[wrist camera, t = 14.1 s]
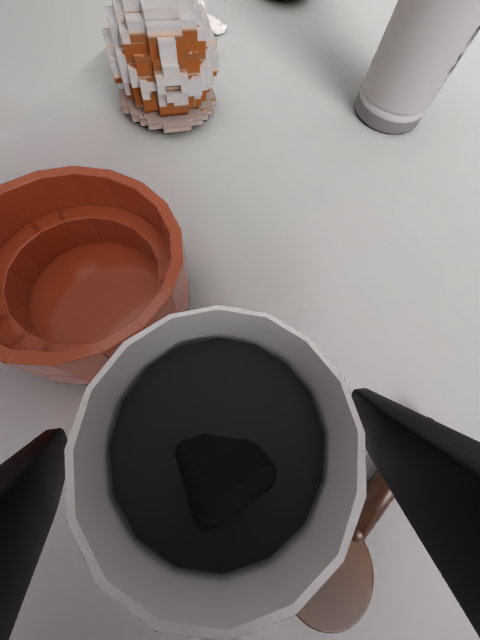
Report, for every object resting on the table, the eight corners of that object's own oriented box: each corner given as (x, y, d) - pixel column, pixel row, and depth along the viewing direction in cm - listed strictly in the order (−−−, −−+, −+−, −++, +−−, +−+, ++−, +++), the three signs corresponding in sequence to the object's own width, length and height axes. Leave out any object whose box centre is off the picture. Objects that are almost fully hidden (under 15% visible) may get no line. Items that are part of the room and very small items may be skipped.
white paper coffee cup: (298, 470, 15) (428, 520, 6) (180, 538, 14) (118, 741, 5) (244, 359, 17) (281, 271, 8) (136, 407, 16) (31, 366, 7)
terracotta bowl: (180, 391, 16) (168, 372, 12) (-24, 379, 16) (-122, 355, 11) (198, 236, 21) (194, 178, 16) (37, 221, 20) (-16, 156, 15)
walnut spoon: (395, 392, 18) (408, 389, 16) (456, 450, 17) (473, 451, 15) (257, 561, 14) (261, 572, 13) (325, 649, 13) (336, 669, 12)
